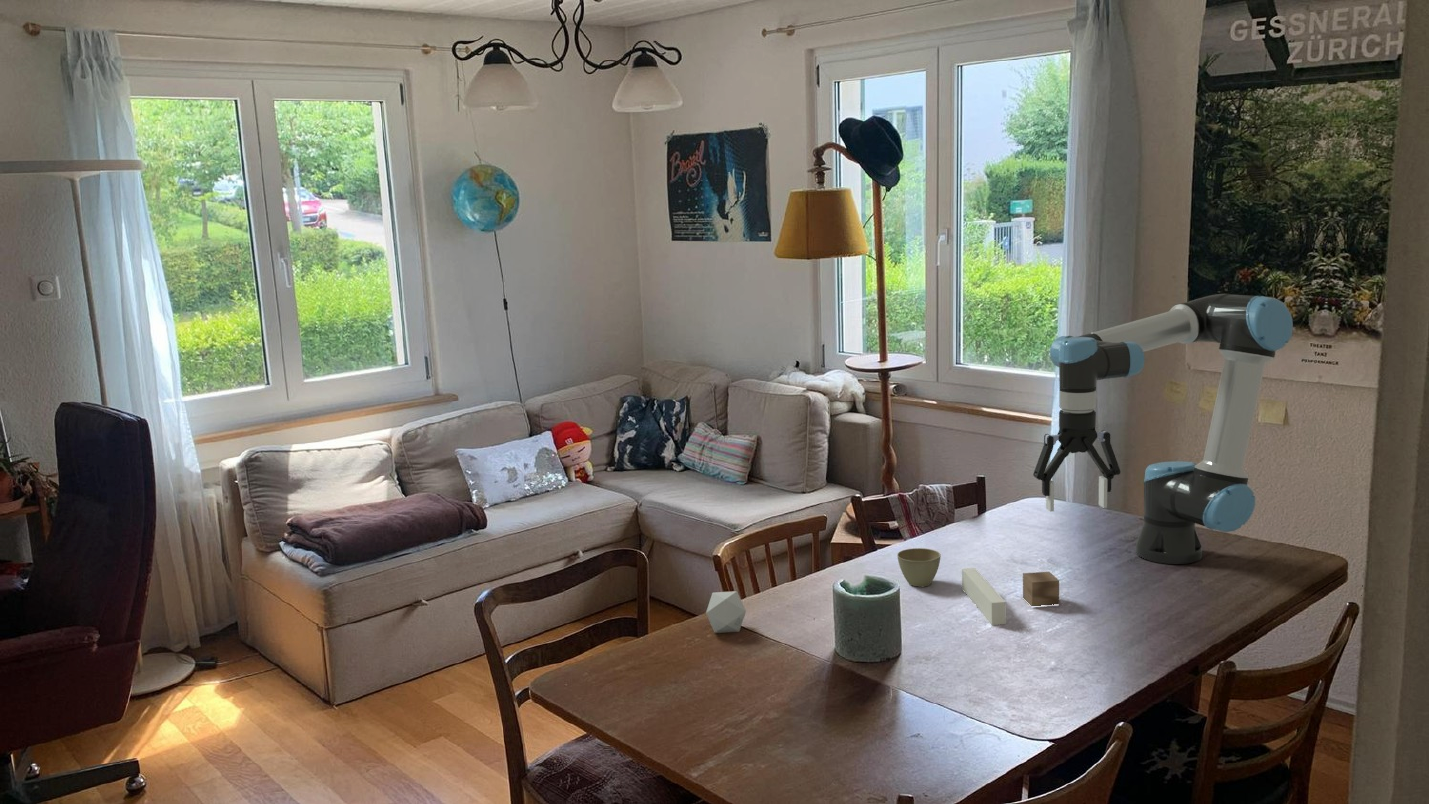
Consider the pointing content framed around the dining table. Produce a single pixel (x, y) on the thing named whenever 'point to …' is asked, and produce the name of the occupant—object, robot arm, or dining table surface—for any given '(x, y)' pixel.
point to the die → (725, 612)
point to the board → (984, 596)
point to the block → (1040, 588)
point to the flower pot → (919, 565)
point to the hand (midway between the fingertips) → (1076, 508)
